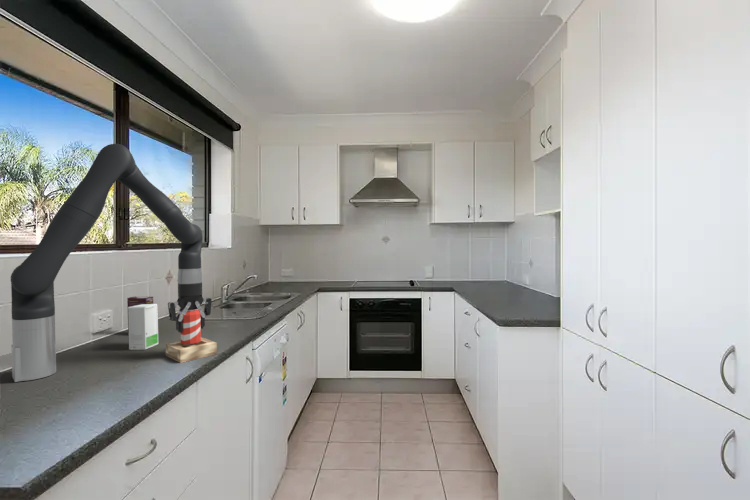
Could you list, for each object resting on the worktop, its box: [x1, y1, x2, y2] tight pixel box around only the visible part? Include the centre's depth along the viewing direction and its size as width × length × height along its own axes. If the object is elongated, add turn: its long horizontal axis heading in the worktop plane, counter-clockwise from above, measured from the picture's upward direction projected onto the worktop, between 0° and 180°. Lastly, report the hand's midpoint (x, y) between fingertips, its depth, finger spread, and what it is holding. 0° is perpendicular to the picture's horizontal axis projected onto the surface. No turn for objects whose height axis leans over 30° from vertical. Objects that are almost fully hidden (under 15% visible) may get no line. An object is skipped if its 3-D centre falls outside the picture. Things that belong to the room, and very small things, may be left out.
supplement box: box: [126, 296, 154, 336], centre depth 156 cm, size 9×5×16 cm, turn 84°
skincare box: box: [127, 303, 159, 351], centre depth 137 cm, size 8×7×16 cm
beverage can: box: [180, 309, 202, 346], centre depth 127 cm, size 6×6×12 cm
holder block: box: [165, 336, 218, 364], centre depth 127 cm, size 12×12×4 cm
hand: (190, 330), depth 127 cm, fingers closed on beverage can, 6 cm apart
